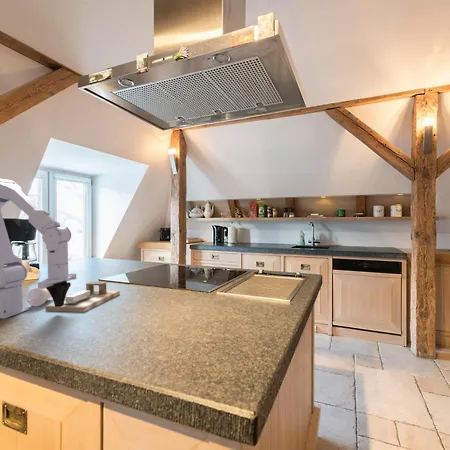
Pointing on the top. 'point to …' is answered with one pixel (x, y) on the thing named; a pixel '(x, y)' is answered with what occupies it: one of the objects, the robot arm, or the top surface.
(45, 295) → the smoothie
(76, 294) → the brushed metal block
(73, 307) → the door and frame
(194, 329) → the top surface
